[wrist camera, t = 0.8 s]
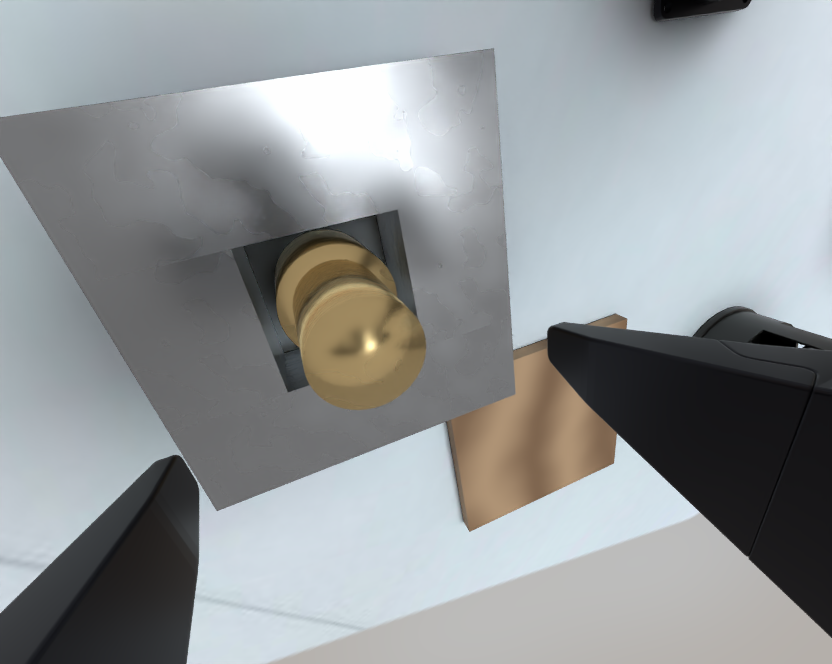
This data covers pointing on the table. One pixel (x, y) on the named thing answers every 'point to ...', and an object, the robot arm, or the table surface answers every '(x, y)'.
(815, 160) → the table surface
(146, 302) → the plate
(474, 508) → the board
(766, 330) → the french press
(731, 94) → the table surface
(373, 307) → the knob
